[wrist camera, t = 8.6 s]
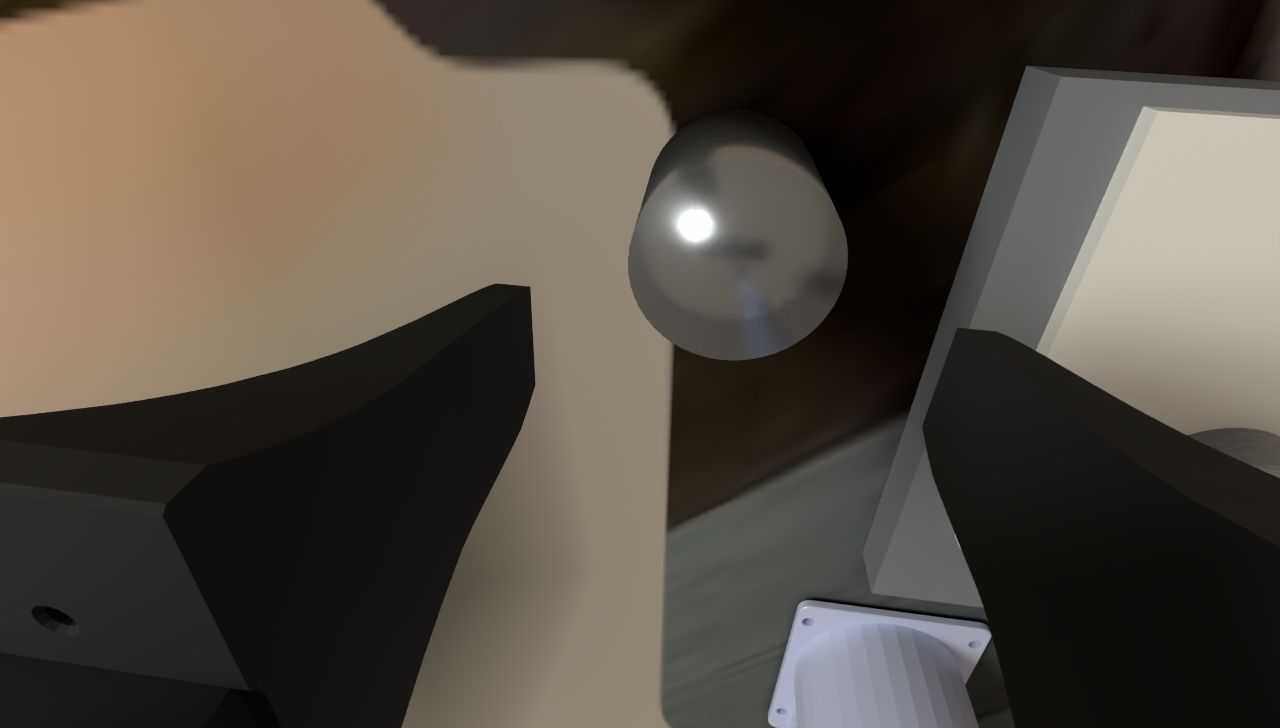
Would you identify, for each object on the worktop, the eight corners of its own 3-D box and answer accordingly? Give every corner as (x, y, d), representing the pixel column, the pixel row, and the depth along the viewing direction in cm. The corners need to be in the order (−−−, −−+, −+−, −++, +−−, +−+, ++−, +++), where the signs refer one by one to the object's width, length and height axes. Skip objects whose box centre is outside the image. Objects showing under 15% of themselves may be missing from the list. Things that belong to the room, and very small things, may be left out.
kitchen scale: (1285, 605, 24) (1416, 754, 20) (862, 552, 26) (891, 680, 21) (1739, 109, 15) (2201, 172, 10) (1026, 66, 16) (1146, 102, 11)
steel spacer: (811, 273, 20) (836, 359, 16) (652, 277, 20) (636, 360, 16) (825, 104, 17) (859, 153, 13) (642, 114, 18) (619, 164, 14)
